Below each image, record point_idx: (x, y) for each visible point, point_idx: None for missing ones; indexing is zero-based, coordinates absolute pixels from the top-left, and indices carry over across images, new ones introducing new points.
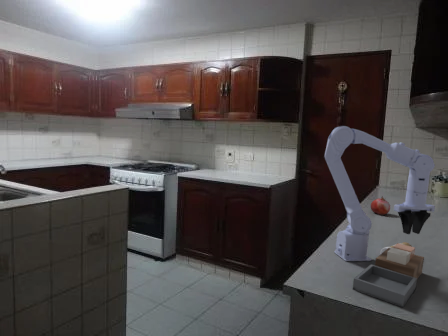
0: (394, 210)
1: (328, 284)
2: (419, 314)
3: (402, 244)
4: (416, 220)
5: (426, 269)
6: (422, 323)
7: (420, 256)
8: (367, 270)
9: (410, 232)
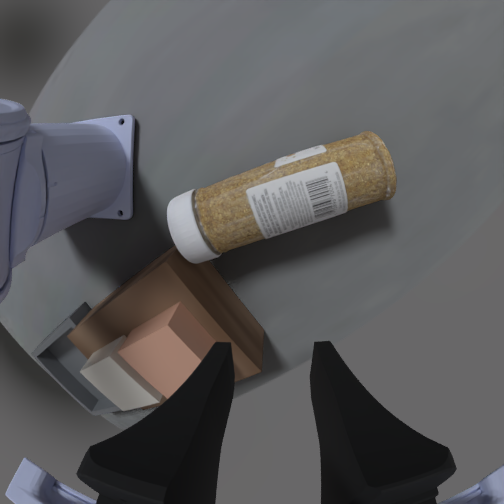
0: (29, 463)
1: (15, 313)
2: (118, 416)
3: (184, 343)
4: (331, 439)
5: (312, 310)
6: (112, 423)
7: (250, 365)
8: (54, 340)
9: (233, 389)
